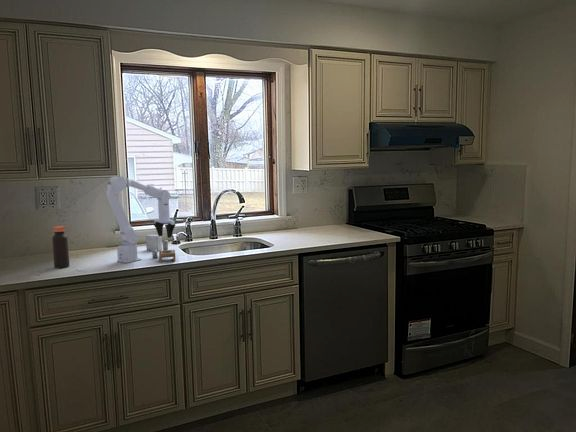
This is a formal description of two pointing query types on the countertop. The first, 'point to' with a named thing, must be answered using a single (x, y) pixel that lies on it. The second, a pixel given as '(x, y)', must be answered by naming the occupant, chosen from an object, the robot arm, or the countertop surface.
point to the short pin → (154, 254)
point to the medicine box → (154, 242)
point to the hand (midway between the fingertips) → (164, 236)
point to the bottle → (60, 248)
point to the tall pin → (165, 245)
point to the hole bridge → (166, 254)
